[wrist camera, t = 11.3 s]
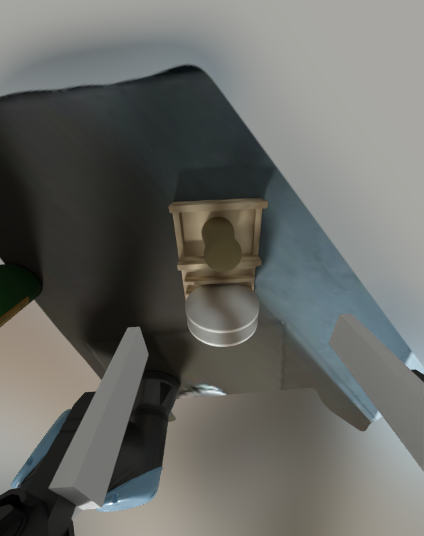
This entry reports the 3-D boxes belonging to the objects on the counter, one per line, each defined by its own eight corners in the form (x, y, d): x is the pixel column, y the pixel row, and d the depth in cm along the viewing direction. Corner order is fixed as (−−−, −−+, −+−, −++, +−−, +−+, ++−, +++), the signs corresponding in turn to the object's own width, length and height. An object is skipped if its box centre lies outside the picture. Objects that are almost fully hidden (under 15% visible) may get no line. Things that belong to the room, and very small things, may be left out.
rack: (186, 302, 41) (179, 358, 29) (173, 201, 31) (152, 221, 18) (251, 298, 41) (271, 352, 29) (259, 197, 31) (296, 214, 18)
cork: (236, 245, 34) (249, 274, 24) (205, 251, 34) (205, 282, 24) (231, 213, 31) (244, 232, 21) (197, 220, 31) (195, 242, 22)
